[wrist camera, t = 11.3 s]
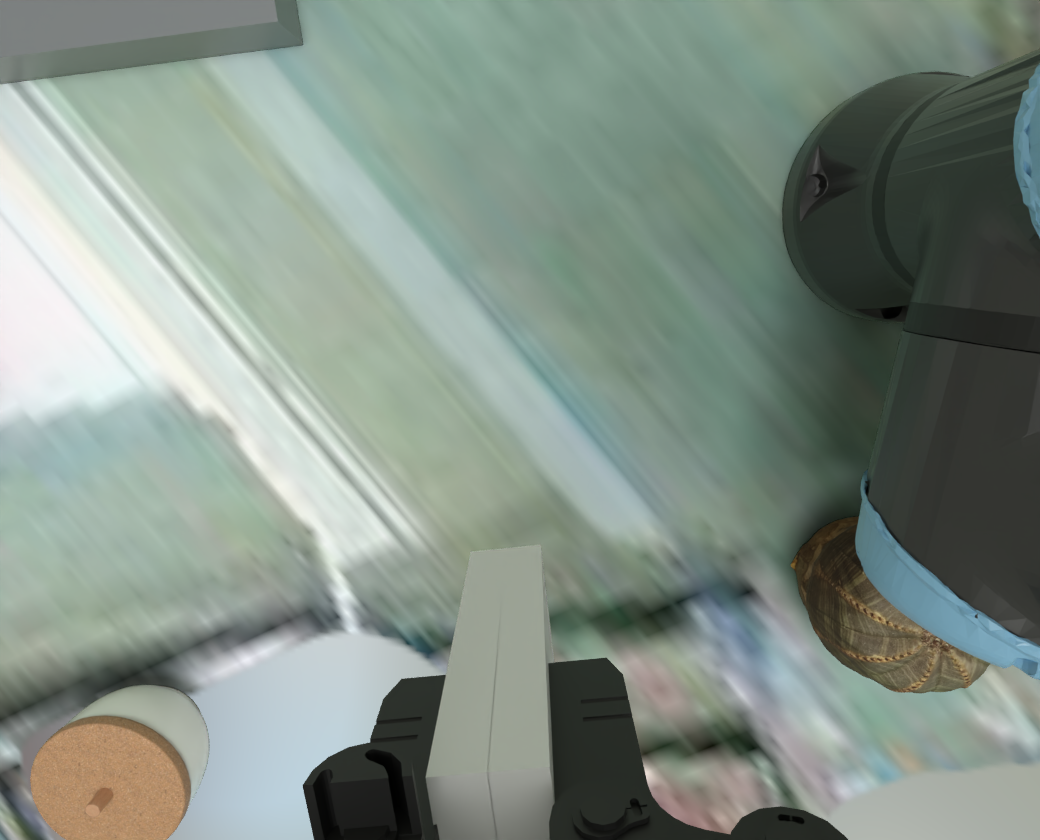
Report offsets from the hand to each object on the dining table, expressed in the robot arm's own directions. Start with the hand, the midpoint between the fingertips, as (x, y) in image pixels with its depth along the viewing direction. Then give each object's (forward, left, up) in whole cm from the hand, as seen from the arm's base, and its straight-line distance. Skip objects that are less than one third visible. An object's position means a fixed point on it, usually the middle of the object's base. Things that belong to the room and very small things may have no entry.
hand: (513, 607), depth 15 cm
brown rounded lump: (-11, +26, -35) cm, 45 cm away
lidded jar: (+40, +6, -35) cm, 53 cm away
